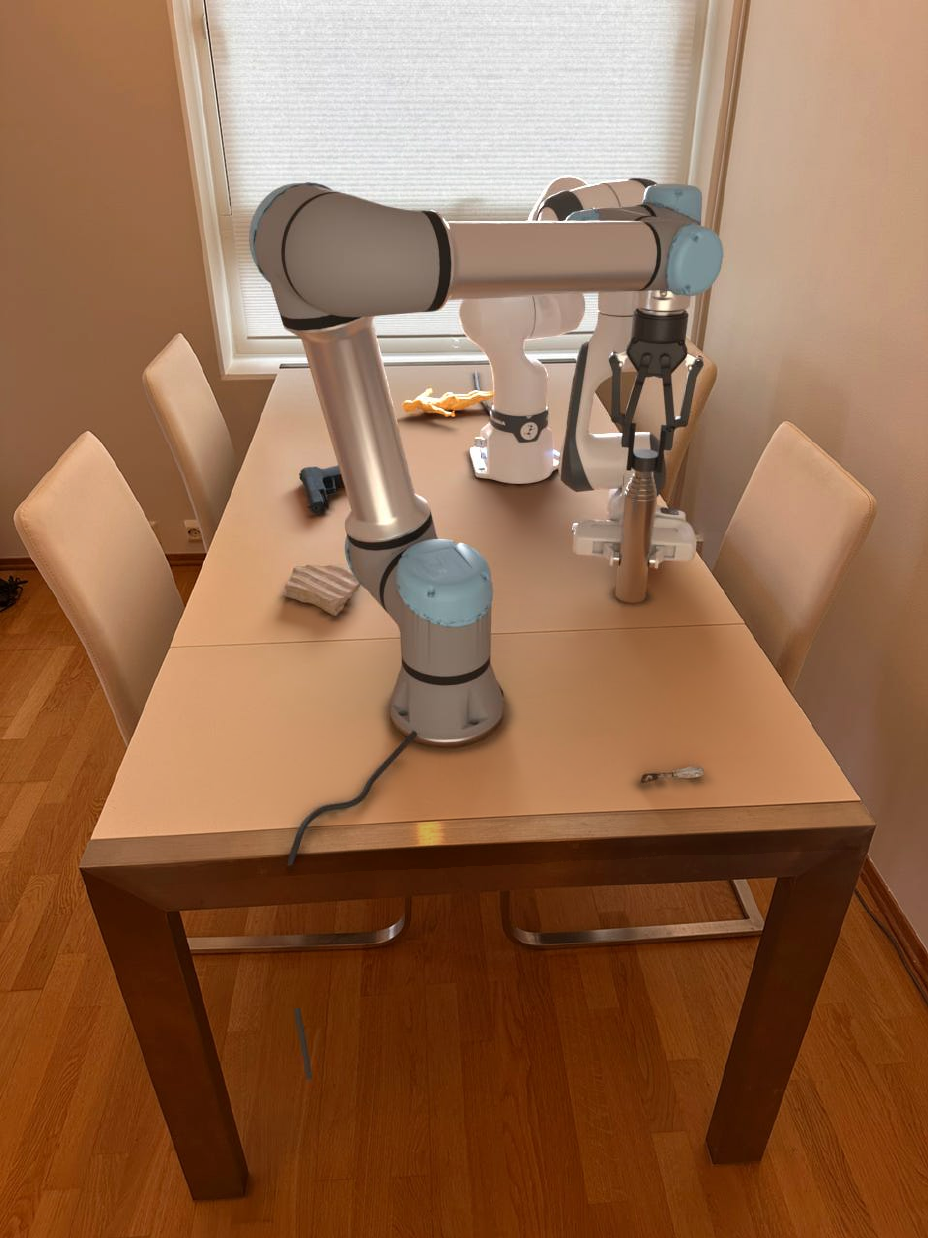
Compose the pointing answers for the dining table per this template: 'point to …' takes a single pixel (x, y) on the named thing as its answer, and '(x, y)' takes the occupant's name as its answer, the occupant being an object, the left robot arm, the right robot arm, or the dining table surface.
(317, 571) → the stone
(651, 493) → the bottle
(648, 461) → the cap
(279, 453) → the dining table surface
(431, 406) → the human figure
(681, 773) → the putty knife
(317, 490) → the handgun
